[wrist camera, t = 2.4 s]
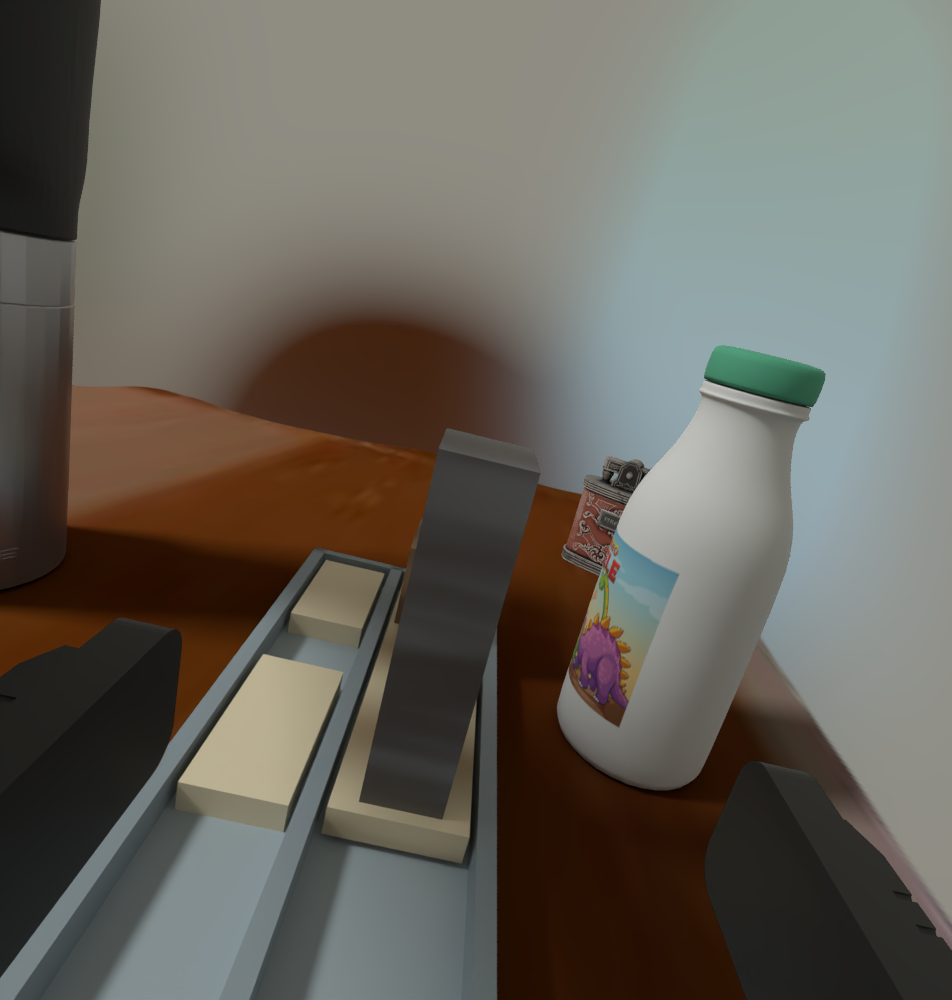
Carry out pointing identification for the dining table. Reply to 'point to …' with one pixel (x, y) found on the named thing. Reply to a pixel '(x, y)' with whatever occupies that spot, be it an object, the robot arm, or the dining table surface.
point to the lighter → (601, 512)
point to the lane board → (277, 840)
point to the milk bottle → (690, 578)
